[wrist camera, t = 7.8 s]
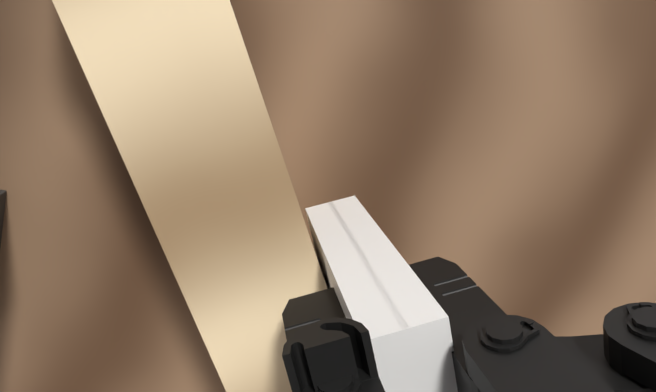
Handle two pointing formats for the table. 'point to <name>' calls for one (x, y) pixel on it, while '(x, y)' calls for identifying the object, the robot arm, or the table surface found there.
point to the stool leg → (203, 170)
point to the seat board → (342, 171)
